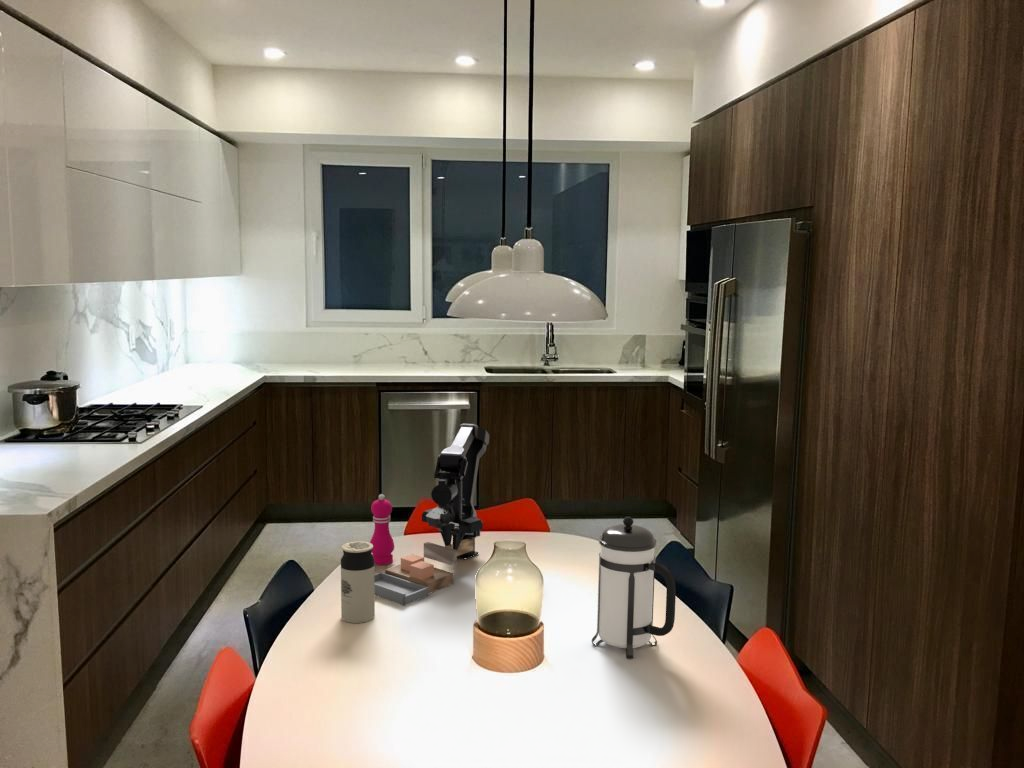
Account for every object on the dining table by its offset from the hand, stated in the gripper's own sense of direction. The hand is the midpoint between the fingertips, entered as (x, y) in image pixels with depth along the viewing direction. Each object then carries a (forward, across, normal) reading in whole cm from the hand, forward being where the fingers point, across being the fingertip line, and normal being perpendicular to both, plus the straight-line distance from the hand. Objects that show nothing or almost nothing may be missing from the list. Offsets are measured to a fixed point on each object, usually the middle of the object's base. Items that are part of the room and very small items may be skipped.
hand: (451, 550), depth 246 cm
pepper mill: (+6, -20, -8) cm, 22 cm away
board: (+6, 0, -13) cm, 14 cm away
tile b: (+3, +3, -15) cm, 16 cm away
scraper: (+2, 0, +1) cm, 2 cm away
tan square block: (+3, -3, -12) cm, 13 cm away
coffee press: (+6, +65, -11) cm, 66 cm away
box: (+6, 0, -23) cm, 24 cm away
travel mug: (+6, +6, -40) cm, 41 cm away
